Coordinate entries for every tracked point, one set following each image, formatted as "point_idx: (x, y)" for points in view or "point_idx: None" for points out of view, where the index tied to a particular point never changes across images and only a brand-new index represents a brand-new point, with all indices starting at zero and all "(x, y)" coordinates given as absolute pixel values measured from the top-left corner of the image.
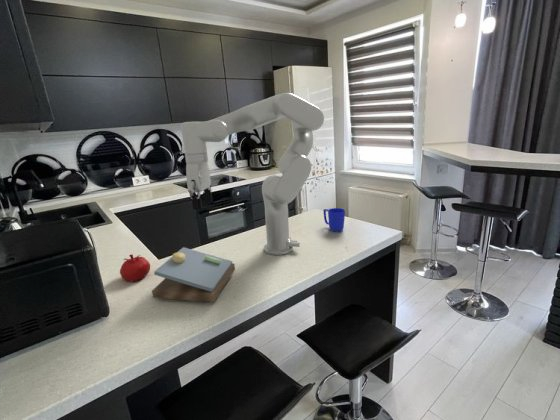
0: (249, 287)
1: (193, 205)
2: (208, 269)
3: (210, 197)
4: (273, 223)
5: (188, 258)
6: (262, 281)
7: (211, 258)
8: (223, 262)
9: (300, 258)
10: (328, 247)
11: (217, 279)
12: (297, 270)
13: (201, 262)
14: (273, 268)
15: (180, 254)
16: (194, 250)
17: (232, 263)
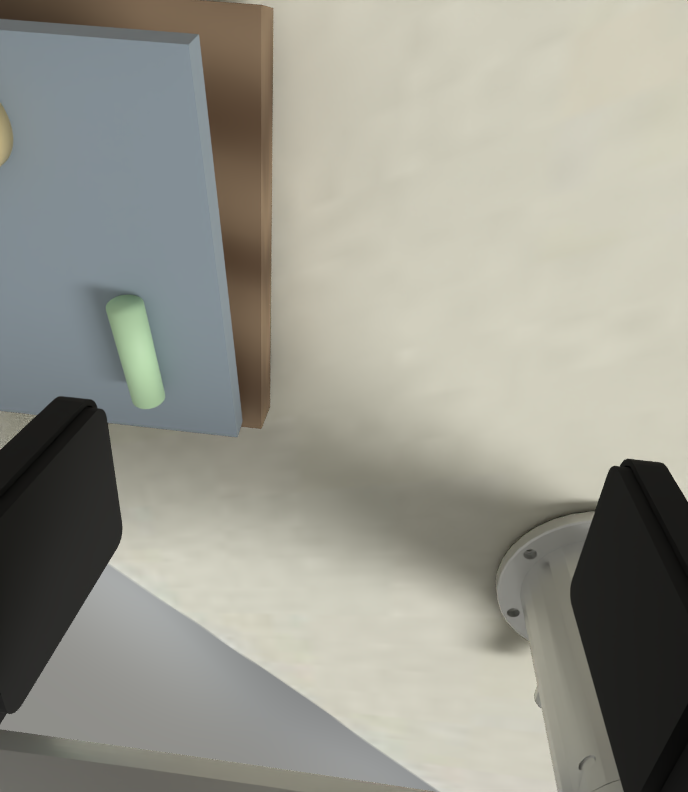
0: (146, 480)
1: (15, 455)
2: (44, 344)
3: (599, 680)
4: (561, 758)
5: (53, 180)
6: (208, 525)
7: (121, 356)
8: (187, 398)
9: (448, 662)
10: None
11: (2, 403)
12: (323, 645)
13: (80, 285)
14: (340, 562)
15: None
16: (203, 176)
17: (261, 417)
